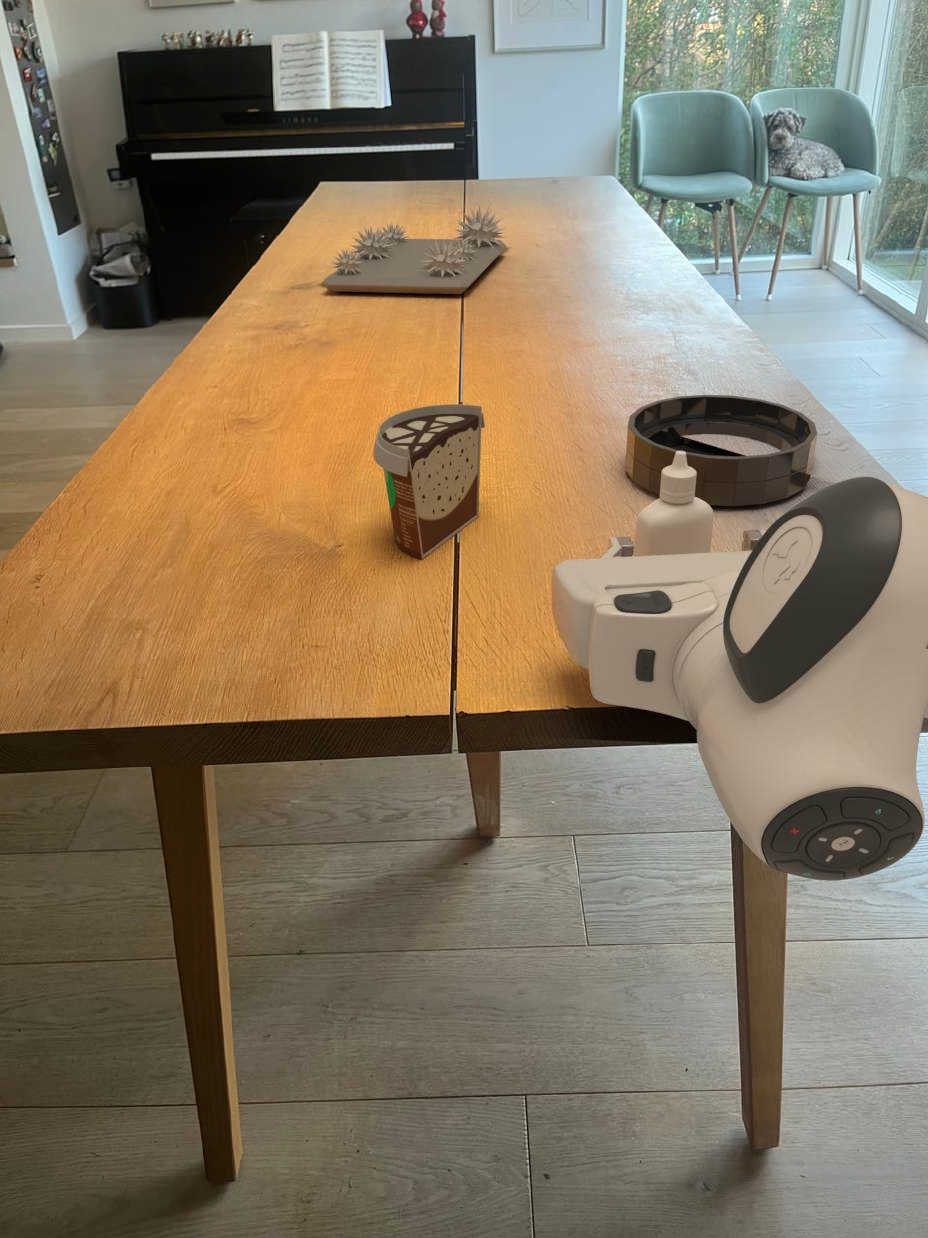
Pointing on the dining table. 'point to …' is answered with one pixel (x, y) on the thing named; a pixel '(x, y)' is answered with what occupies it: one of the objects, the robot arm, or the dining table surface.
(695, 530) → the eye dropper bottle
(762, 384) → the dining table surface
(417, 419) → the food container
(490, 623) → the dining table surface
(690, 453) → the faceted ring band
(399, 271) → the decorative tray
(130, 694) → the dining table surface
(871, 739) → the robot arm
